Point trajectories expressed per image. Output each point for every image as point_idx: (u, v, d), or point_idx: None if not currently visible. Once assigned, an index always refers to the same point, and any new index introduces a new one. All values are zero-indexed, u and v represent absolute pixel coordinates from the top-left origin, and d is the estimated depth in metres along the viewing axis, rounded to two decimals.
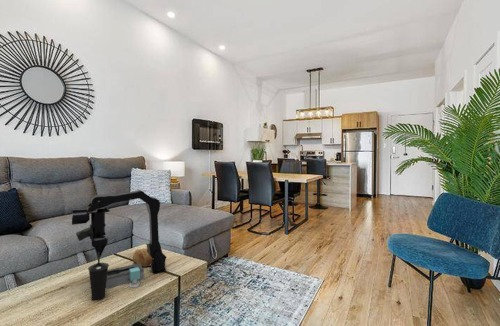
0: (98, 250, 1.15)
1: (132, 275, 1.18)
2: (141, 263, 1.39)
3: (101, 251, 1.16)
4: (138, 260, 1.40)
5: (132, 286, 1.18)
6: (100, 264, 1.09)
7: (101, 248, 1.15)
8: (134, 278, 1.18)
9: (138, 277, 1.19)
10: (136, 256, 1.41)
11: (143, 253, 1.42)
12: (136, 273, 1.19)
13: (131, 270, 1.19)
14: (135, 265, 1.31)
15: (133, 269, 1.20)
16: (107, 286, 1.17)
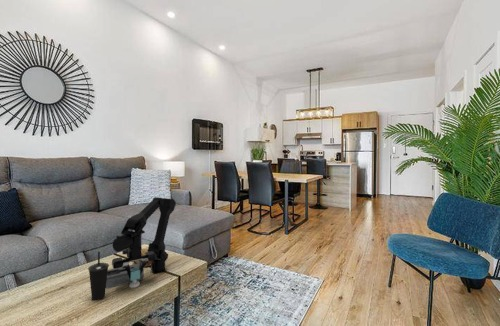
0: None
1: (132, 275, 1.18)
2: None
3: (127, 273, 1.18)
4: (138, 260, 1.40)
5: (132, 286, 1.18)
6: (100, 264, 1.09)
7: None
8: (134, 278, 1.18)
9: (138, 277, 1.19)
10: None
11: (143, 253, 1.42)
12: (136, 273, 1.19)
13: (131, 270, 1.19)
14: (135, 265, 1.31)
15: (133, 269, 1.20)
16: (107, 286, 1.17)
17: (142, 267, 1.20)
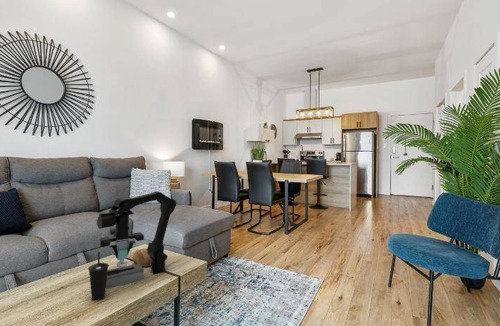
0: (114, 250, 1.19)
1: (119, 254, 1.19)
2: (141, 263, 1.39)
3: (114, 252, 1.18)
4: (138, 260, 1.40)
5: (119, 265, 1.19)
6: (100, 264, 1.09)
7: None
8: (121, 258, 1.19)
9: (125, 257, 1.20)
10: (136, 256, 1.41)
11: (143, 253, 1.42)
12: (123, 253, 1.20)
13: (118, 250, 1.20)
14: (135, 265, 1.31)
15: (121, 249, 1.21)
16: (107, 286, 1.17)
17: (129, 247, 1.21)
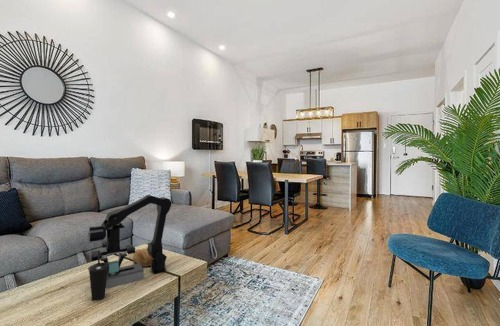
0: None
1: (110, 268, 1.20)
2: (141, 263, 1.39)
3: None
4: (138, 260, 1.40)
5: None
6: (100, 264, 1.09)
7: None
8: (112, 271, 1.21)
9: (117, 270, 1.22)
10: (136, 256, 1.41)
11: (143, 253, 1.42)
12: (114, 266, 1.21)
13: (110, 263, 1.21)
14: (135, 265, 1.31)
15: (112, 262, 1.22)
16: (107, 286, 1.17)
17: (121, 260, 1.22)
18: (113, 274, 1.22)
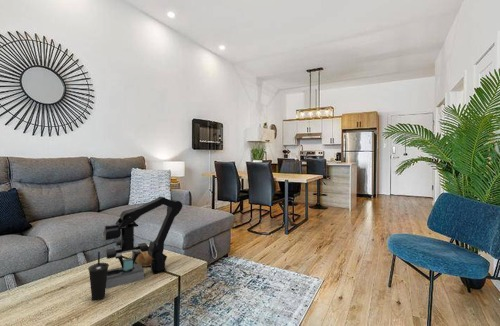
0: (120, 261, 1.24)
1: (125, 265, 1.24)
2: (141, 263, 1.39)
3: None
4: (138, 260, 1.40)
5: None
6: (100, 264, 1.09)
7: None
8: (127, 268, 1.24)
9: (131, 267, 1.25)
10: None
11: (143, 253, 1.42)
12: (129, 263, 1.25)
13: (124, 261, 1.25)
14: (135, 265, 1.31)
15: (126, 260, 1.26)
16: (107, 286, 1.17)
17: (135, 258, 1.26)
18: None
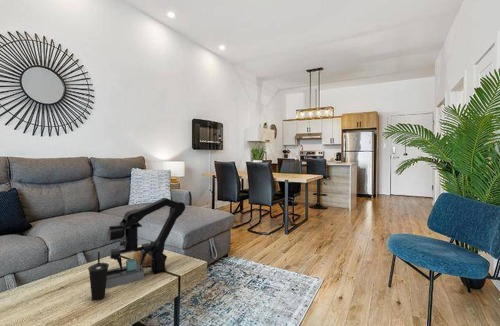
0: None
1: (129, 266, 1.25)
2: None
3: (119, 264, 1.23)
4: (138, 260, 1.40)
5: None
6: (100, 264, 1.09)
7: None
8: (131, 268, 1.25)
9: (134, 268, 1.26)
10: (136, 256, 1.41)
11: None
12: (132, 264, 1.26)
13: (128, 261, 1.26)
14: None
15: (130, 260, 1.27)
16: (107, 286, 1.17)
17: (143, 257, 1.28)
18: None
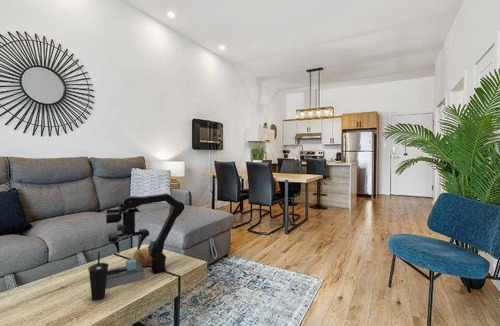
0: (115, 246, 1.25)
1: (129, 266, 1.25)
2: (141, 263, 1.39)
3: (116, 248, 1.24)
4: (138, 260, 1.40)
5: None
6: (100, 264, 1.09)
7: None
8: (131, 268, 1.25)
9: (134, 268, 1.26)
10: (136, 256, 1.41)
11: (143, 253, 1.42)
12: (132, 264, 1.26)
13: (128, 261, 1.26)
14: None
15: (130, 260, 1.27)
16: (107, 286, 1.17)
17: (141, 241, 1.30)
18: None
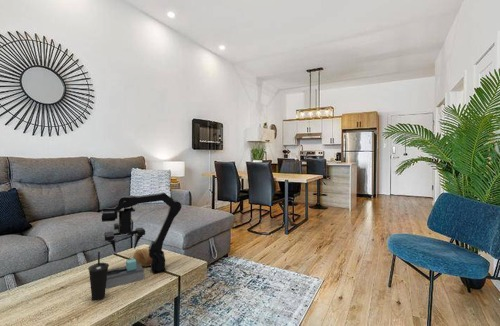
0: (112, 245, 1.27)
1: (129, 266, 1.25)
2: (141, 263, 1.39)
3: None
4: (138, 260, 1.40)
5: None
6: (100, 264, 1.09)
7: None
8: (131, 268, 1.25)
9: (134, 268, 1.26)
10: (136, 256, 1.41)
11: (143, 253, 1.42)
12: (132, 264, 1.26)
13: (128, 261, 1.26)
14: None
15: (130, 260, 1.27)
16: (107, 286, 1.17)
17: (137, 240, 1.32)
18: None
